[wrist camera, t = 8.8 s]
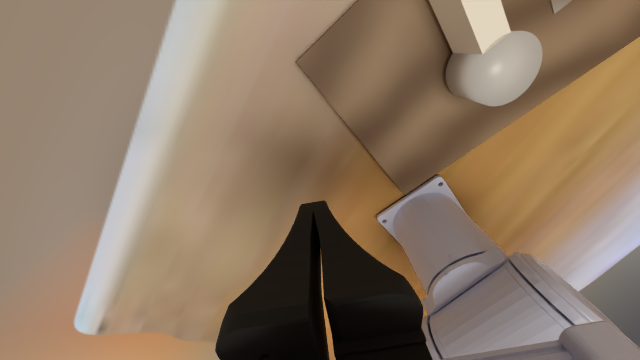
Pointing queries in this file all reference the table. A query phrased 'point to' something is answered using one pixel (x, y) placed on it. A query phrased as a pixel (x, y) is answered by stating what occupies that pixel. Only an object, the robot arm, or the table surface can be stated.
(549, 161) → the table surface
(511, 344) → the robot arm
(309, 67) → the base
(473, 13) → the coupling lever
